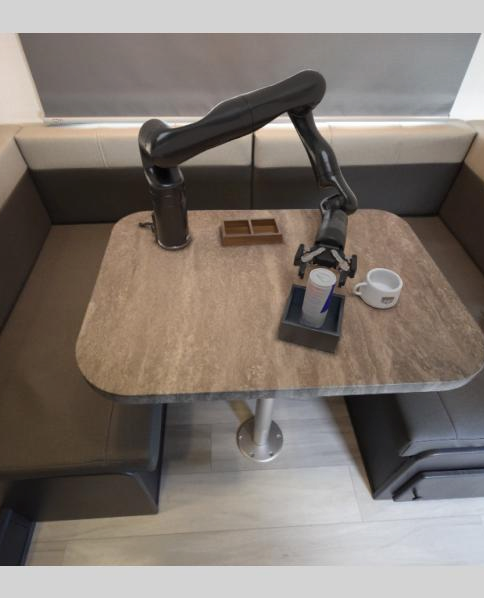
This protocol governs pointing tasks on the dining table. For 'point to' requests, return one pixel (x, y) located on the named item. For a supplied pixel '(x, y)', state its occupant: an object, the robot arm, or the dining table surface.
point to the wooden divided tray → (251, 231)
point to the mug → (380, 288)
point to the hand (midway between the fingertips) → (321, 280)
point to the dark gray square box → (307, 334)
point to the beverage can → (317, 297)
